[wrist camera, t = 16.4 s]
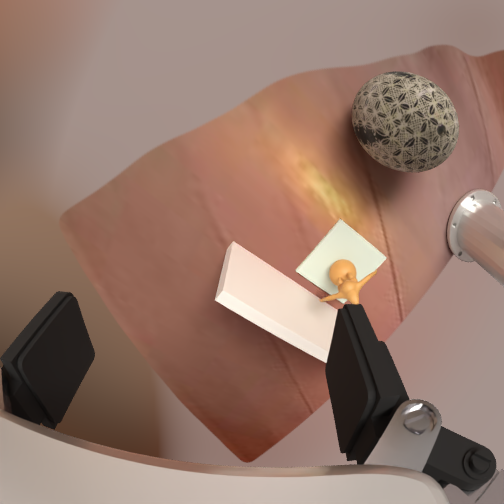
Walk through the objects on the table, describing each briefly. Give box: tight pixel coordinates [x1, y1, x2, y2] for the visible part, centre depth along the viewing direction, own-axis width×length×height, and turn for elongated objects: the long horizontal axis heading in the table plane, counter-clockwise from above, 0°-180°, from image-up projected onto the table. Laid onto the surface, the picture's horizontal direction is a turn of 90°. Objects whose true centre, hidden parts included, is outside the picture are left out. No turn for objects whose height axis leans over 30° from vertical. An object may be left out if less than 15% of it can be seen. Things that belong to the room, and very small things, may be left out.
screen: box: [215, 241, 338, 363], centre depth 41 cm, size 24×2×13 cm, turn 54°
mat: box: [296, 219, 386, 304], centre depth 45 cm, size 10×10×1 cm
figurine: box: [319, 259, 377, 304], centre depth 39 cm, size 8×6×12 cm
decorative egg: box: [352, 72, 459, 172], centre depth 29 cm, size 12×12×15 cm
